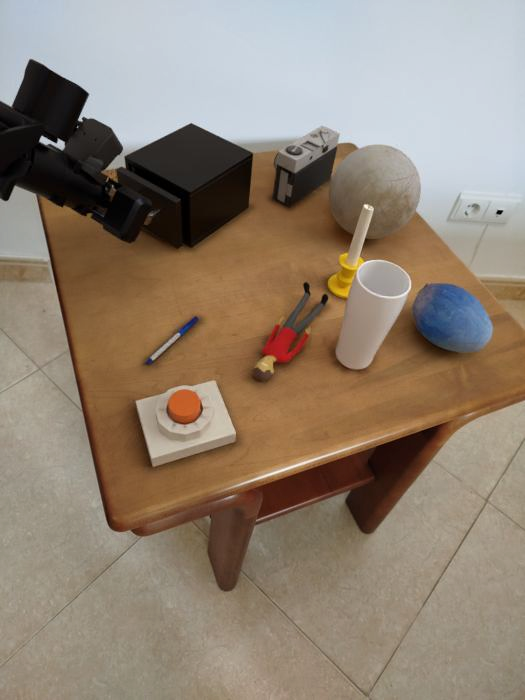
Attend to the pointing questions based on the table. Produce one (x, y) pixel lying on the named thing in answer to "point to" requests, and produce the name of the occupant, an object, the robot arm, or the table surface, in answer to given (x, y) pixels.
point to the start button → (184, 406)
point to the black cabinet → (200, 176)
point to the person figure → (286, 338)
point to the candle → (351, 257)
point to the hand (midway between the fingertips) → (127, 210)
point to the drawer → (159, 205)
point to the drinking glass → (371, 311)
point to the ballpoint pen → (173, 339)
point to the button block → (185, 425)
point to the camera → (304, 165)
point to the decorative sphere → (375, 189)
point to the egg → (451, 318)
